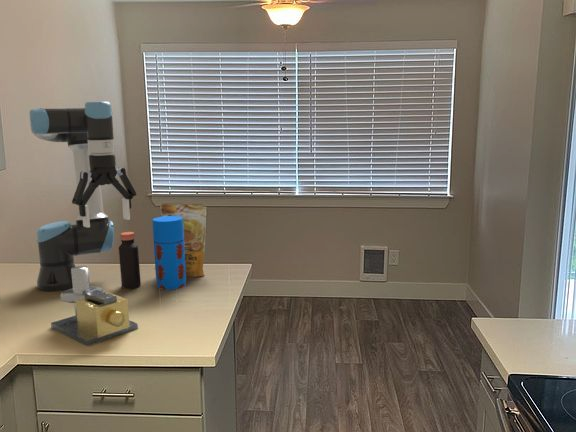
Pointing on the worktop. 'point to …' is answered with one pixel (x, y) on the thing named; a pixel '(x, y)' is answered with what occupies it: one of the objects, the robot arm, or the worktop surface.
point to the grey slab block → (100, 297)
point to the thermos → (169, 252)
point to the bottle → (129, 261)
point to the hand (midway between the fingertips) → (107, 223)
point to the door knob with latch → (92, 313)
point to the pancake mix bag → (191, 233)
